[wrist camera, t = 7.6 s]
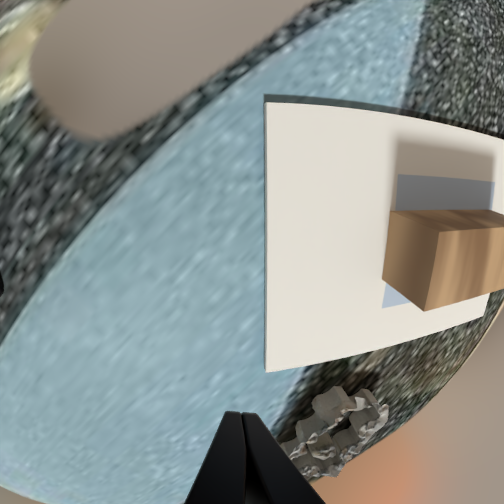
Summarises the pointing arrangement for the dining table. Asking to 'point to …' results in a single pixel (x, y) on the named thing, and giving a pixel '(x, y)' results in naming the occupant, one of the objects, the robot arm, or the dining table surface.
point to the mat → (358, 224)
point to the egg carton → (344, 442)
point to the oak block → (444, 255)
